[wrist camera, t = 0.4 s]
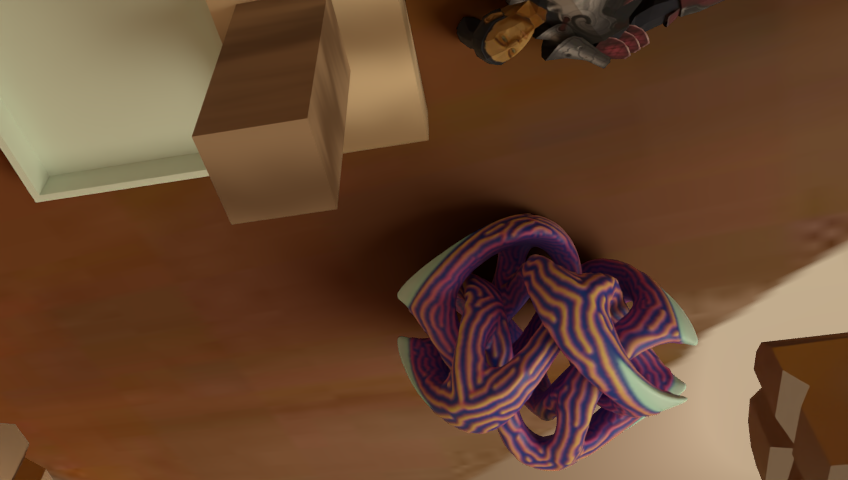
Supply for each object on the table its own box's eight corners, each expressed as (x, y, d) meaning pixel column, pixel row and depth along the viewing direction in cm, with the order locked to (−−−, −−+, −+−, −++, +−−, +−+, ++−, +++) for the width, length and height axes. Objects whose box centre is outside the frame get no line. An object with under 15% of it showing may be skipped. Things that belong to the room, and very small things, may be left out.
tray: (-107, -71, 43) (-130, -52, 41) (174, -126, 41) (163, -108, 39) (48, 178, 54) (35, 202, 52) (273, 143, 53) (269, 166, 51)
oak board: (181, -117, 42) (169, -95, 39) (372, -154, 41) (370, -134, 38) (274, 136, 52) (268, 164, 50) (427, 112, 51) (428, 140, 49)
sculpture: (437, 330, 69) (679, 389, 63) (356, 467, 55) (654, 558, 50) (445, 163, 61) (722, 213, 56) (352, 275, 48) (707, 357, 42)
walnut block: (236, 4, 43) (191, 136, 34) (328, -12, 42) (307, 118, 34) (264, 84, 46) (231, 224, 37) (350, 70, 46) (337, 209, 37)
